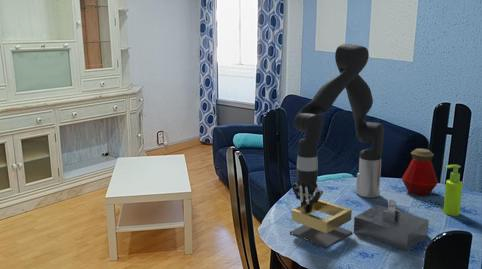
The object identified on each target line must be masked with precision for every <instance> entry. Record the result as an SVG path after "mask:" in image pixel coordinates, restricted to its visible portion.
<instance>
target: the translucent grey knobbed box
mask: <svg viewBox="0 0 482 269" xmlns="http://www.w3.org/2000/svg"><path fill="white" fill-rule="evenodd" d="M387 206H388V207H385V206H382V205H378V204H375V205H374V206H372V207H370V208H369V209H367V210H365V211H363V212H361V213H359V214H357V215H356V216H353V217H354V218H353V219H354V220H353V233H355V234H357V235H360V236H363V237H366V238H369V239H372V240H375V241H377V242H380V243H382V244H386V245H388V246H391V247H394V248H396V249H400V250H403V251H405V252H407V251H409V250H410V249H411V248H413V247H414V246H416V245H417V244H418V243H420V242H421V241H422V240H424V239H425V238H427V236H429V234H428V232H429V224H430V223H429V222H430V219H427V218H424V217H419V216H417V215H414V214H410V213H406V212H403V211H401V210H400V209H397V202H396V200H394V199H389V200H388V201H387Z"/></svg>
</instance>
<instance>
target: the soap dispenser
mask: <svg viewBox="0 0 482 269" xmlns="http://www.w3.org/2000/svg"><path fill="white" fill-rule="evenodd" d="M444 167H445V168H447V169H453V170H452V171H451V172H450V175H449V179H447V180H446V182H445V190H444V200H443V211H442V213H443V214H445V215H448V216H452V217H453V216H454V217H458V216H460V214H461V204H462V197H463V196H462V194H463V184H464V183H463V181H460V179H461V178H460V177H461V174H460V173H459V168H461V167H462V166H461V165H459V164H448V165H445V166H444Z"/></svg>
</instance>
